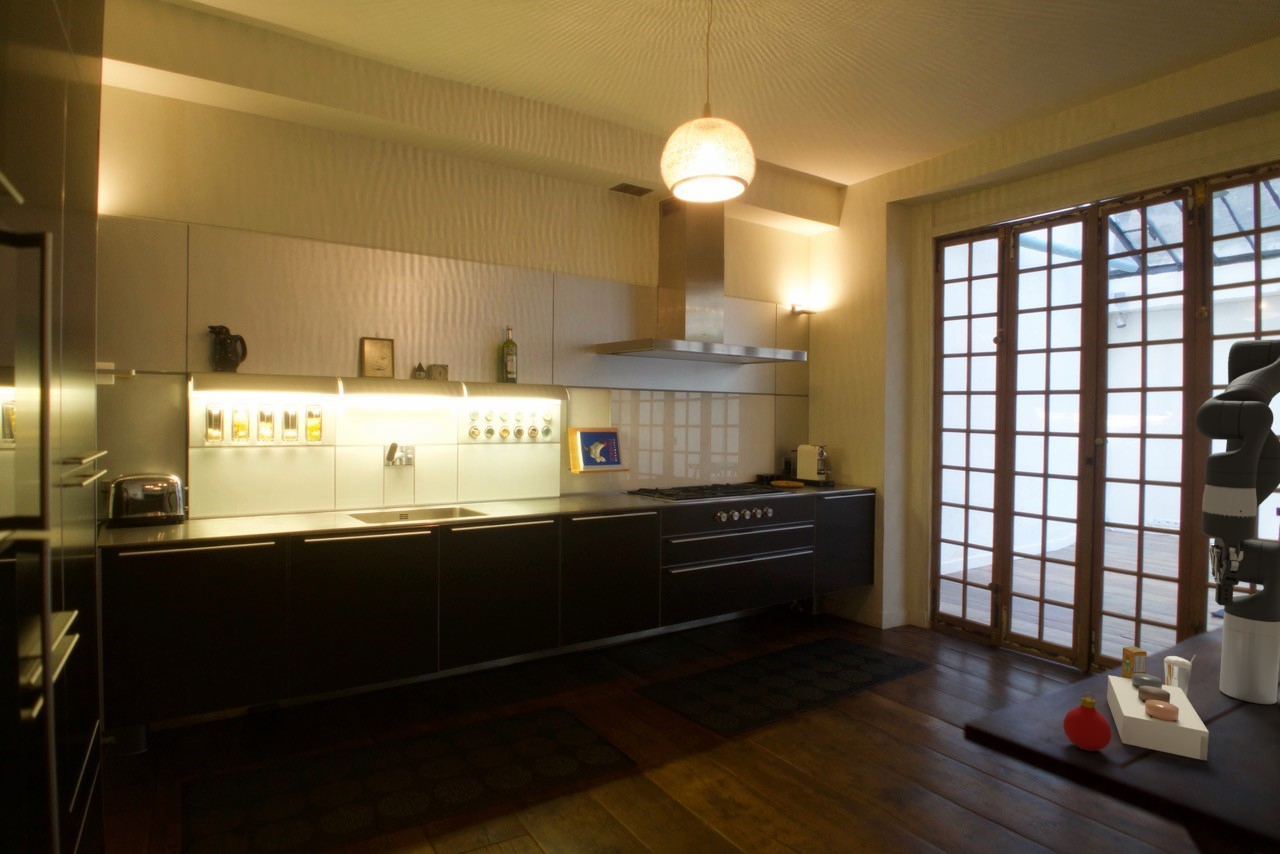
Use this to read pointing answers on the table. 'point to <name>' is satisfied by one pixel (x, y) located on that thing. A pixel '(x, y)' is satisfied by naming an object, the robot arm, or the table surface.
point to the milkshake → (1177, 672)
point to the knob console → (1156, 721)
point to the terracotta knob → (1161, 710)
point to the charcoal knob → (1146, 680)
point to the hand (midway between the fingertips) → (1223, 604)
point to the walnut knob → (1153, 694)
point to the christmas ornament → (1087, 726)
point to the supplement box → (1133, 661)
